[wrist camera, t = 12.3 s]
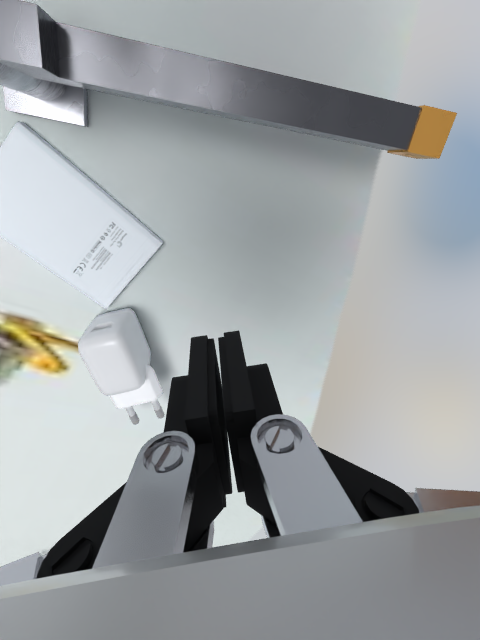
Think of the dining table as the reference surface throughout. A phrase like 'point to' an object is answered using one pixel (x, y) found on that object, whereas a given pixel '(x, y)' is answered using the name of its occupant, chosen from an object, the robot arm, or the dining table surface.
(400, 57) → the dining table surface
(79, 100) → the post
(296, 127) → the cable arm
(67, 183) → the external hard drive
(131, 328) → the power adapter
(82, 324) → the dining table surface
